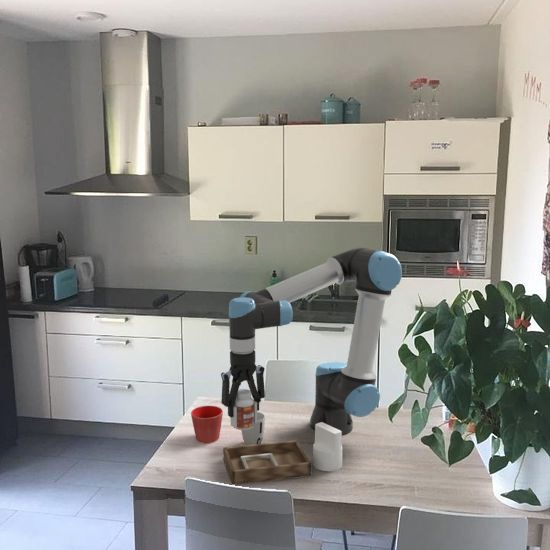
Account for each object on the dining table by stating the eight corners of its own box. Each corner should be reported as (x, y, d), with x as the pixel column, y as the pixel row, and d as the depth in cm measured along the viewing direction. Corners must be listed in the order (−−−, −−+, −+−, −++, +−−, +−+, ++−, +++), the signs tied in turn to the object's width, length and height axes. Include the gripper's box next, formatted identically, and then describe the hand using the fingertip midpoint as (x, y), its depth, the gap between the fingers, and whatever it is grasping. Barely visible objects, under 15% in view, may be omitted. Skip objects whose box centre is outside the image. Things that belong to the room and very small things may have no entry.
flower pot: (185, 443, 205) (185, 415, 203) (200, 429, 215) (199, 403, 213) (214, 447, 201) (214, 419, 200) (228, 434, 212) (227, 407, 210)
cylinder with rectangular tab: (306, 463, 192) (307, 426, 189) (327, 454, 197) (328, 419, 195) (327, 474, 185) (328, 436, 183) (348, 465, 191) (349, 428, 188)
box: (297, 451, 199) (297, 440, 198) (311, 475, 184) (311, 463, 183) (223, 459, 193) (223, 447, 193) (231, 484, 178) (231, 472, 177)
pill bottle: (245, 432, 182) (244, 397, 180) (229, 427, 185) (228, 392, 183) (258, 425, 187) (257, 390, 185) (242, 420, 190) (241, 386, 188)
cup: (261, 451, 199) (262, 422, 197) (237, 449, 201) (237, 420, 199) (267, 440, 207) (267, 412, 205) (243, 438, 208) (243, 410, 207)
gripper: (264, 342, 190) (265, 412, 194) (207, 352, 180) (209, 426, 184) (276, 348, 183) (277, 421, 188) (218, 359, 174) (220, 435, 178)
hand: (244, 423), depth 186 cm, fingers closed on pill bottle, 6 cm apart
